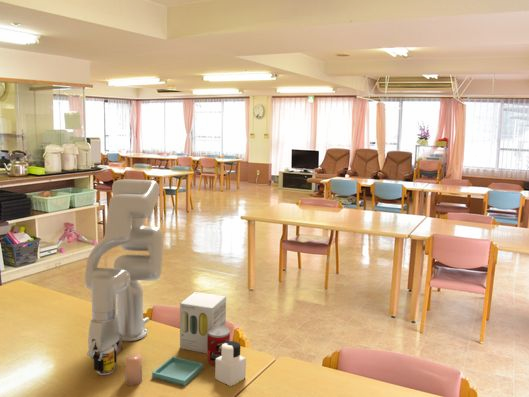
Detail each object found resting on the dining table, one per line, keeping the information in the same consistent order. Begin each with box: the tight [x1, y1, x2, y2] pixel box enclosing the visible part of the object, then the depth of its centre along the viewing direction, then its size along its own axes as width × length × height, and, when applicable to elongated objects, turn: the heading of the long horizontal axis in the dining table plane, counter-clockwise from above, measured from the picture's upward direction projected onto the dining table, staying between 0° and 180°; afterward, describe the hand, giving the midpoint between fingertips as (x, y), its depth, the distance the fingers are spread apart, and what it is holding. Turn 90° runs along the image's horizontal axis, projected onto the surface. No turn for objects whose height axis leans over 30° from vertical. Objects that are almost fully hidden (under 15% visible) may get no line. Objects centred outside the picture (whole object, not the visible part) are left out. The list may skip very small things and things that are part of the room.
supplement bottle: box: [96, 346, 115, 376], centre depth 154 cm, size 6×6×10 cm
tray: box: [151, 356, 204, 387], centre depth 155 cm, size 12×12×2 cm
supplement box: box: [179, 291, 227, 354], centre depth 175 cm, size 13×13×18 cm
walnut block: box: [116, 337, 123, 357], centre depth 168 cm, size 5×5×5 cm
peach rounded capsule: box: [125, 353, 143, 386], centre depth 149 cm, size 5×5×8 cm
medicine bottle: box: [214, 340, 247, 387], centre depth 151 cm, size 7×7×12 cm
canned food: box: [206, 326, 231, 366], centre depth 163 cm, size 8×8×11 cm
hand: (105, 365), depth 154 cm, fingers closed on supplement bottle, 5 cm apart
